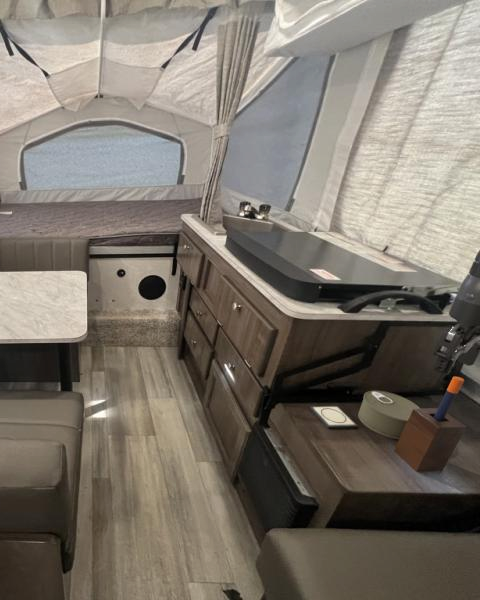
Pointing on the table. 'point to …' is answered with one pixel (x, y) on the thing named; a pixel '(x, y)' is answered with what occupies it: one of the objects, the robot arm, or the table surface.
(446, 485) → the table surface
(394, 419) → the can
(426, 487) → the table surface
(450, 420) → the pen stand
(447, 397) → the marker
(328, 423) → the drawing pad
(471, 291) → the robot arm
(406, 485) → the table surface
